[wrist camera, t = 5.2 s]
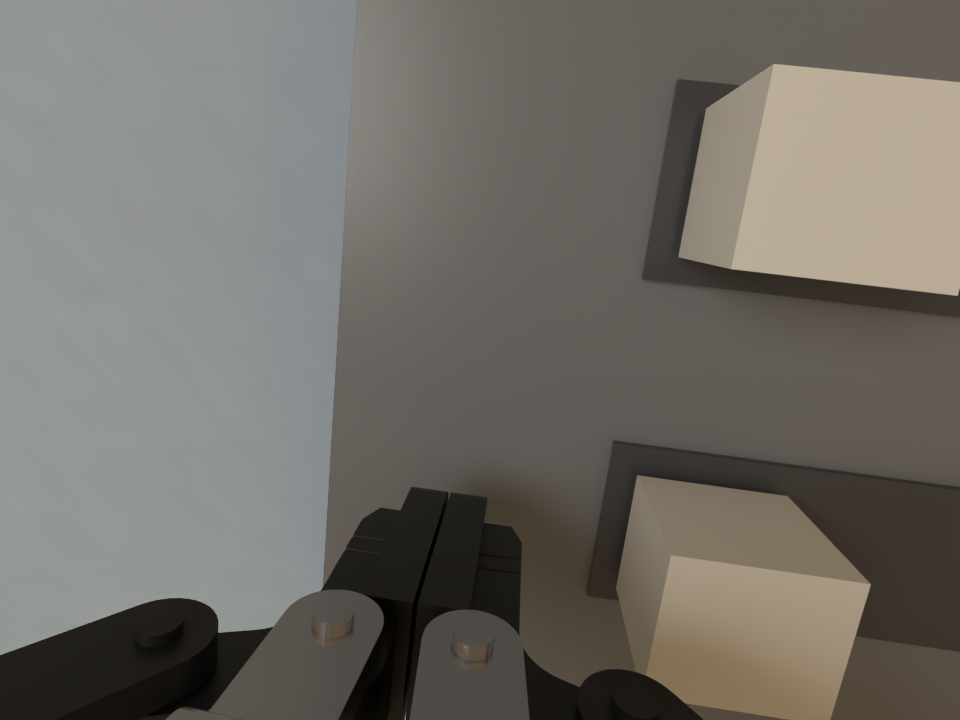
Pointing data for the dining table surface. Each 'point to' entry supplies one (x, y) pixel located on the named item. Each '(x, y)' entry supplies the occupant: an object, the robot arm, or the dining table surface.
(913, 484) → the switch panel
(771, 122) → the switch
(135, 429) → the dining table surface
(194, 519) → the dining table surface
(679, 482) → the switch
